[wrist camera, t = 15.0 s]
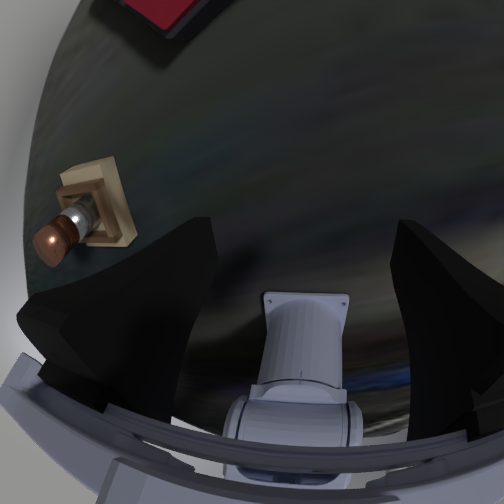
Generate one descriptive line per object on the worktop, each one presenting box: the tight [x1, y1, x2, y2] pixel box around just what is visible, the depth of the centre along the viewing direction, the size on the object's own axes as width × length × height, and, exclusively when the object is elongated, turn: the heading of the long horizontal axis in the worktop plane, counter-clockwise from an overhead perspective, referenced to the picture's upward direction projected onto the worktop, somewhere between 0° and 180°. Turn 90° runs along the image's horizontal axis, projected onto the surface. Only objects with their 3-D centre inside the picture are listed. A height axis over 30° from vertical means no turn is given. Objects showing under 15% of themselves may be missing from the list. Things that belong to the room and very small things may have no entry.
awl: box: [33, 195, 102, 267], centre depth 19 cm, size 3×3×6 cm
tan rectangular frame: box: [56, 156, 137, 247], centre depth 22 cm, size 8×6×3 cm
